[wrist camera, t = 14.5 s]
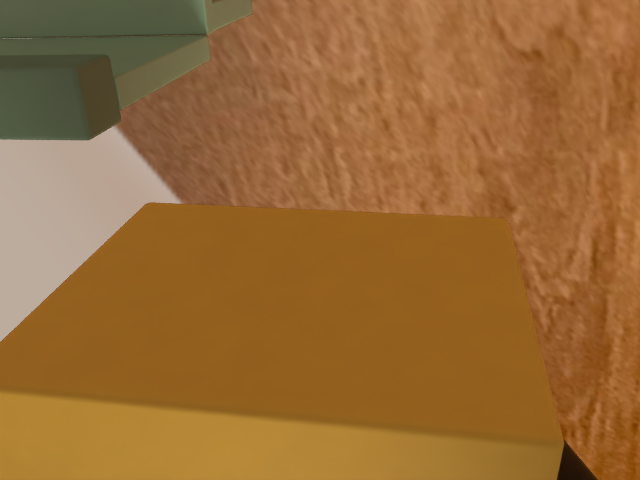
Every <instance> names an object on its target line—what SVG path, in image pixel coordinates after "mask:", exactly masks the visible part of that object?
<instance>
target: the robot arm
mask: <svg viewBox="0 0 640 480" xmlns="http://www.w3.org/2000/svg"><path fill="white" fill-rule="evenodd" d="M563 440H564V439H563ZM557 480H598V479H597V478H596V477H595V476H594V475H593V473H592V472H591V471H590V470H589V469H588V467H587V466H586V465H585V464H584V463H583V462H582V460H581V459H580V458H579V457H578V456H577V454H576V453H575V452H574V451H573V450H572V448H571V447H570V446H569V445H568V444H567V443H566V441H565V440H564V447H563V452H562V457H561V462H560V467H559V472H558V476H557Z"/></svg>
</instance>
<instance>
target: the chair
mask: <svg viewBox="0 0 640 480" xmlns="http://www.w3.org/2000/svg"><path fill="white" fill-rule="evenodd" d="M250 14H252V4H251V0H0V139H20V140H23V139H24V140H90V139H92V138H94V137H95V136H97V135H99V134H101V133H102V132H104V131H106V130H107V129H109V128H111V127H112V126H114V125H116V124H117V123H119V122H120V121H121V115H120V110H122V109H124V108H126V107H127V106H129V105H131V104H133V103H134V102H136V101H138V100H140V99H142V98H143V97H145V96H147V95H149V94H150V93H152V92H154V91H156V90H157V89H159V88H161V87H163V86H165V85H166V84H168V83H170V82H172V81H173V80H175V79H177V78H179V77H180V76H182V75H184V74H186V73H188V72H189V71H191V70H193V69H195V68H196V67H198V66H200V65H202V64H203V63H205V62H207V61H209V60H210V50H209V41H208V36H206V35H208V34H210V33H212V32H214V31H215V30H217V29H219V28H221V27H223V26H226V25H228V24H230V23H232V22H235V21H237V20H239V19H241V18H244V17H246V16H248V15H250ZM164 35H195V36H164ZM110 36H140V37H110ZM56 37H86V38H56ZM2 38H32V39H2Z"/></svg>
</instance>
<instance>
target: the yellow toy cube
mask: <svg viewBox="0 0 640 480" xmlns="http://www.w3.org/2000/svg"><path fill="white" fill-rule="evenodd" d="M563 447H564V440H563V436H562V432H561V428H560V424H559V420H558V416H557V412H556V408H555V404H554V400H553V397H552V393H551V389H550V385H549V381H548V377H547V373H546V369H545V365H544V361H543V357H542V353H541V349H540V345H539V341H538V337H537V333H536V329H535V325H534V321H533V317H532V314H531V310H530V306H529V302H528V298H527V294H526V290H525V286H524V282H523V278H522V274H521V270H520V266H519V262H518V258H517V254H516V250H515V246H514V242H513V238H512V234H511V231H510V227H509V223H508V220H506V219H503V218H487V217H465V216H442V215H420V214H397V213H375V212H352V211H329V210H307V209H284V208H262V207H239V206H217V205H194V204H172V203H147V204H145V205H144V206H143V207H142V208H141V209H140V210H139V211H138V212H137V213H136V214H135V215H134V216H133V217H132V218H131V219H129V220H128V221H127V223H125V224H124V225H123V226H122V227H121V228H120V229H119V230H118V231H117V232H116V233H115V234H114V235H113V236H112V237H111V238H109V239H108V241H106V242H105V243H104V244H103V245H102V246H101V247H100V248H99V249H98V250H97V251H96V252H95V253H94V254H93V255H92V256H91V257H89V259H87V261H85V262H84V263H83V264H82V265H81V266H80V267H79V268H78V269H77V270H76V271H75V272H74V273H73V274H72V275H70V276H69V277H68V278H67V279H66V280H65V281H64V282H63V283H62V284H61V285H60V286H59V287H58V288H57V289H56V290H55V291H54V292H53V293H51V294H50V295H49V296H48V297H47V298H46V299H45V300H44V301H43V302H42V303H41V304H40V305H39V306H38V307H37V308H36V309H35V310H34V311H33V312H31V314H29V315H28V316H27V317H26V318H25V319H24V320H23V321H22V322H21V323H20V324H19V325H18V326H17V327H16V328H15V329H14V330H13V331H11V332H10V333H9V334H8V335H7V336H6V337H5V338H4V339H3V340H2V341H1V342H0V480H557V476H558V472H559V467H560V462H561V457H562V452H563Z"/></svg>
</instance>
